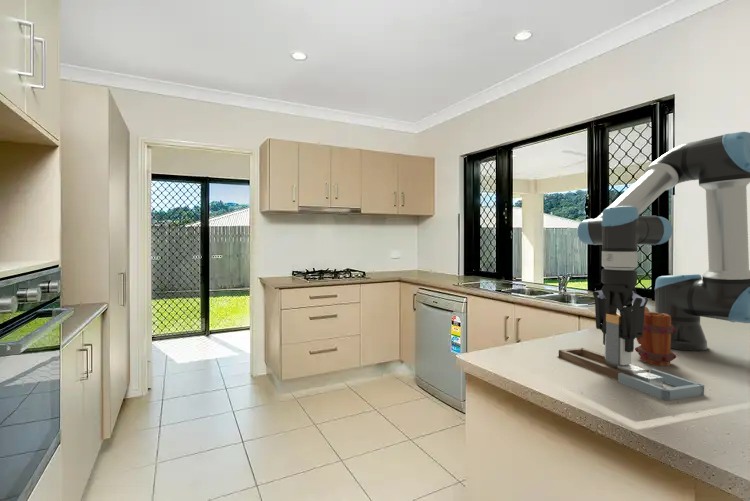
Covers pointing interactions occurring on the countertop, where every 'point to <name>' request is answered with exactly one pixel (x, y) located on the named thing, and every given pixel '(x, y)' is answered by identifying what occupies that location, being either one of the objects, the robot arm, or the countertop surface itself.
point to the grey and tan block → (613, 339)
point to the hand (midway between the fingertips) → (617, 361)
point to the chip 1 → (630, 369)
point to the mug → (656, 339)
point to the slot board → (590, 361)
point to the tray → (680, 391)
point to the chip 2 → (649, 378)
